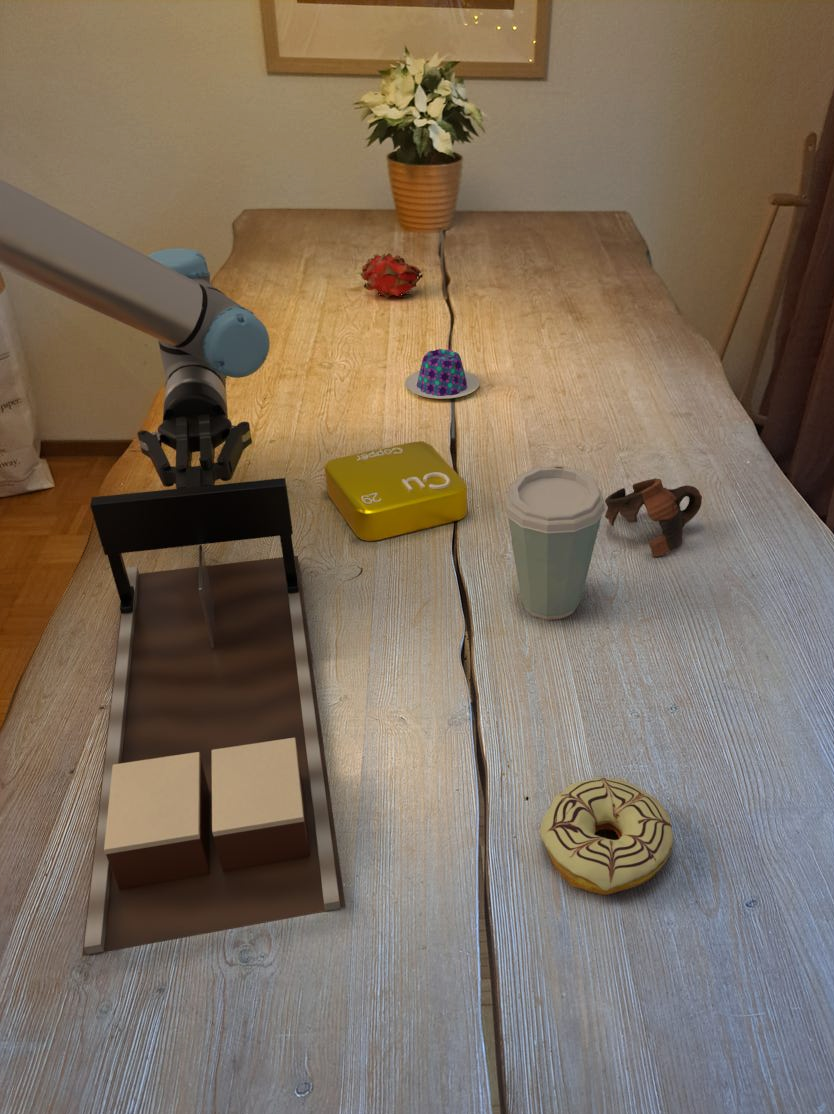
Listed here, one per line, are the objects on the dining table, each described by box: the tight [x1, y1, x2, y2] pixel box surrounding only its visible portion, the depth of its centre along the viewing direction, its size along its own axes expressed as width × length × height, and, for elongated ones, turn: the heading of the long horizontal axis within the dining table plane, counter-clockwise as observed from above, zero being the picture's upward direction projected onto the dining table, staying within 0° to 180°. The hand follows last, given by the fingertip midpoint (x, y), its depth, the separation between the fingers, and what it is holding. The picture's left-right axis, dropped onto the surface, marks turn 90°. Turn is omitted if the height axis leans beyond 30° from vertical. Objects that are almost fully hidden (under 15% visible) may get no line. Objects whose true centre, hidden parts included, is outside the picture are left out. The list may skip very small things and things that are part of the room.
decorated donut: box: [539, 777, 674, 896], centre depth 78 cm, size 10×11×4 cm
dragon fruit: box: [360, 252, 423, 299], centre depth 181 cm, size 8×8×12 cm
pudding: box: [404, 348, 481, 400], centre depth 149 cm, size 12×12×5 cm
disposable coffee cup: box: [502, 465, 606, 621], centre depth 101 cm, size 11×11×15 cm
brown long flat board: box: [81, 548, 346, 957], centre depth 90 cm, size 50×20×2 cm, turn 13°
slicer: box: [89, 477, 299, 648], centre depth 97 cm, size 11×19×14 cm, turn 103°
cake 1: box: [104, 752, 210, 889], centre depth 77 cm, size 9×7×5 cm
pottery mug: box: [604, 478, 703, 558], centre depth 116 cm, size 12×10×8 cm
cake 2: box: [212, 738, 310, 871], centre depth 78 cm, size 9×7×5 cm
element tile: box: [324, 440, 468, 542], centre depth 121 cm, size 15×15×5 cm
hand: (195, 507), depth 97 cm, fingers closed
